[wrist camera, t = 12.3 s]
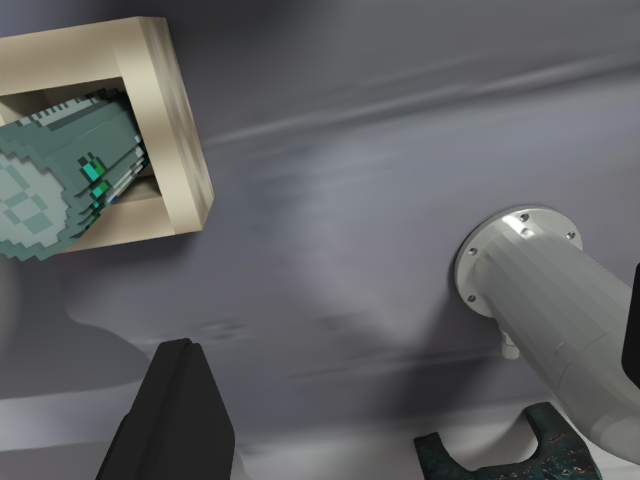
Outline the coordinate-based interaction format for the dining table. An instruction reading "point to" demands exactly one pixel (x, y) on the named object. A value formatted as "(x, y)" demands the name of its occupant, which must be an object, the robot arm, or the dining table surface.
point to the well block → (149, 107)
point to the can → (65, 171)
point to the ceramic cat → (530, 475)
